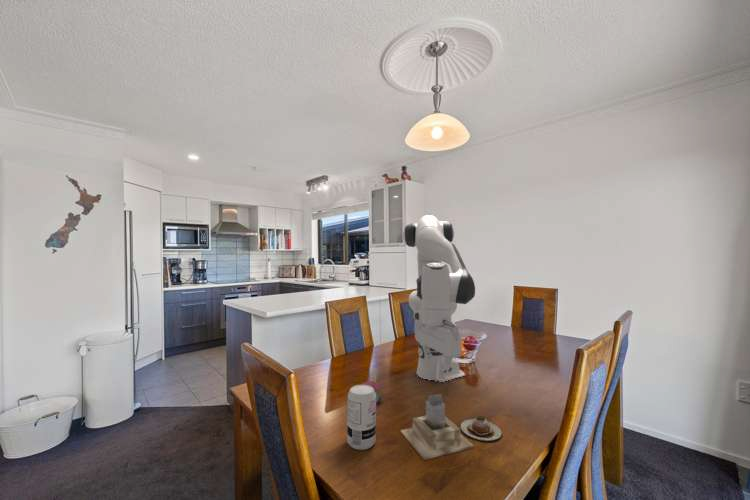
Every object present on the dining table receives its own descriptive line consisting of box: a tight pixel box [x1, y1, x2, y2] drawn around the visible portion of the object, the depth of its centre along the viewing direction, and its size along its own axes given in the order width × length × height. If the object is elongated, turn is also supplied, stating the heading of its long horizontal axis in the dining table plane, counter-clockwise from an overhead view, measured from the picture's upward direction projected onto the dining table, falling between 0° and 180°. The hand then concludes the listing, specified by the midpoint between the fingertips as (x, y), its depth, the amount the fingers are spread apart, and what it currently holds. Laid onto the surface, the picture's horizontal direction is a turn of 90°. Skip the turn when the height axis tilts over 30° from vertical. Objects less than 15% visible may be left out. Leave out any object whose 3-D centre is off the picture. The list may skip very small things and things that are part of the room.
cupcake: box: [361, 370, 384, 403], centre depth 114 cm, size 9×8×12 cm
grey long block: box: [425, 393, 446, 431], centre depth 89 cm, size 4×4×12 cm
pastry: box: [460, 414, 502, 442], centre depth 94 cm, size 12×12×5 cm
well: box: [400, 415, 475, 461], centre depth 89 cm, size 16×14×5 cm
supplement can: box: [346, 384, 377, 451], centre depth 87 cm, size 8×8×15 cm
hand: (436, 364), depth 90 cm, fingers open, 8 cm apart
